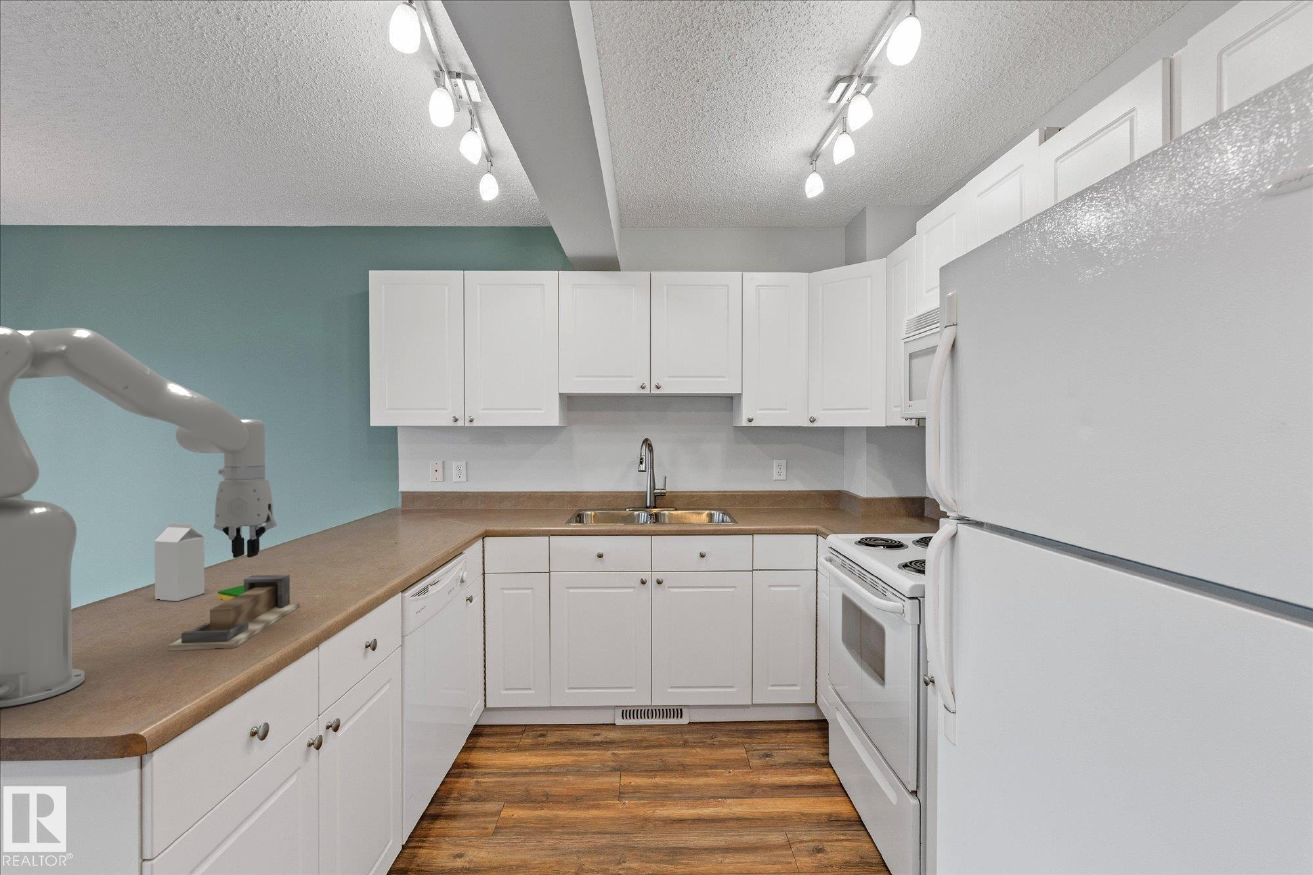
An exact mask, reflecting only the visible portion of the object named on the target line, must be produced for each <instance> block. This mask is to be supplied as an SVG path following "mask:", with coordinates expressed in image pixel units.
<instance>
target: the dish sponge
mask: <svg viewBox="0 0 1313 875" xmlns="http://www.w3.org/2000/svg"><path fill="white" fill-rule="evenodd" d="M243 593H244V584H242V585H238V586H234V587H229V588H226V589H222V590H218V591H217V600H220V599H223V600H222V601H225V600H226V601H228V600H231V599H233V598H235V597H237V596H239V595H241V594H243ZM226 601H225V602H226Z"/></svg>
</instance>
